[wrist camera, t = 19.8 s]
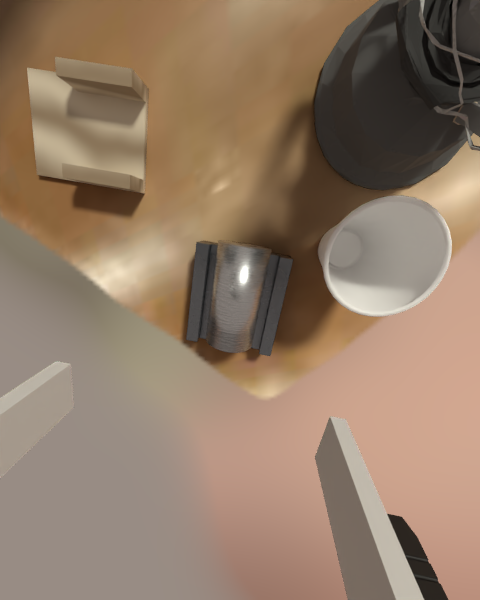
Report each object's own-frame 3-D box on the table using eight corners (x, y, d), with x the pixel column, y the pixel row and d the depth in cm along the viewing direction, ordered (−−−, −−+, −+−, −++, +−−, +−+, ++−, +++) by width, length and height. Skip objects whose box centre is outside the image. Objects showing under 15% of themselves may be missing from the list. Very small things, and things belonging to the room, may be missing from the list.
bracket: (31, 70, 27) (-2, 48, 23) (148, 88, 26) (132, 68, 23) (40, 175, 30) (13, 168, 27) (144, 193, 30) (129, 189, 26)
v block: (203, 240, 31) (196, 242, 27) (289, 256, 30) (293, 259, 27) (193, 328, 35) (186, 339, 31) (269, 343, 34) (270, 356, 31)
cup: (296, 283, 31) (314, 311, 21) (308, 204, 28) (336, 190, 18) (372, 290, 31) (429, 322, 20) (393, 210, 28) (472, 199, 17)
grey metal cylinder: (211, 325, 33) (199, 346, 27) (223, 239, 29) (212, 241, 23) (253, 334, 32) (250, 356, 27) (271, 247, 29) (271, 252, 23)
